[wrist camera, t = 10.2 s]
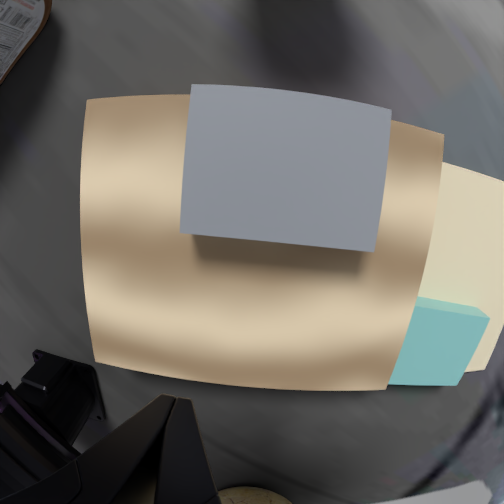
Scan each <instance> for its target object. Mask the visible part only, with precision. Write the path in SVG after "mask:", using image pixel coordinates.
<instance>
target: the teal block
mask: <svg viewBox="0 0 504 504" xmlns="http://www.w3.org/2000/svg"><path fill="white" fill-rule="evenodd" d="M489 321H490V317H488V316H487V315H486V314H485V313H483V312H482V311H481V310H480V309H478V308H477V307H473V306H468V305H462V304H457V303H451V302H446V301H440V300H435V299H430V298H424V297H419V296H417V299H416V303H415V307H414V310H413V313H412V317H411V320H410V323H409V326H408V330H407V333H406V336H405V339H404V342H403V345H402V348H401V350H400V353H399V356H398V359H397V362H396V364H395V367H394V370H393V372H392V375H391V377H390V380H389V383H388V384H395V385H438V386H440V385H457V384H458V382H459V380H460V379H461V377H462V375H463V373H464V371H465V370H466V368H467V366H468V364H469V362H470V360H471V358H472V356H473V354H474V352H475V351H476V348H477V346H478V344H479V342H480V340H481V338H482V336H483V334H484V332H485V330H486V327H487V325H488V323H489Z"/></svg>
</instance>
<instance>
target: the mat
mask: <svg viewBox="0 0 504 504" xmlns="http://www.w3.org/2000/svg"><path fill="white" fill-rule="evenodd" d="M418 296H419V297H424V298H430V299H435V300H440V301H446V302H451V303H457V304H462V305H468V306H473V307H477V308H478V309H480V310H481V311H482V312H483V313H485V314H486V315H487V316H488V317H490V321H489V323H488V325H487V327H486V330H485V332H484V334H483V336H482V338H481V340H480V342H479V344H478V346H477V348H476V351H475V352H474V354H473V356H472V358H471V360H470V362H469V364H468V366H467V368H466V370H465V371H464V372H470V371H478V370H484V369H485V367H486V365H487V363H488V361H489V359H490V356H491V354H492V352H493V349H494V347H495V345H496V342H497V340H498V337H499V335H500V332H501V330H502V327H503V324H504V181H501V180H498V179H495V178H492V177H489V176H486V175H483V174H480V173H477V172H474V171H471V170H468V169H464V168H461V167H458V166H454V165H451V164H447V163H444V162H442V169H441V178H440V186H439V194H438V201H437V207H436V214H435V219H434V225H433V231H432V236H431V241H430V246H429V251H428V255H427V260H426V264H425V268H424V273H423V277H422V281H421V285H420V288H419V292H418Z"/></svg>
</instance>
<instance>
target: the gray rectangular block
mask: <svg viewBox="0 0 504 504" xmlns="http://www.w3.org/2000/svg"><path fill="white" fill-rule="evenodd" d="M391 111H392V110H390V109H386V108H382V107H378V106H374V105H369V104H365V103H360V102H355V101H350V100H345V99H340V98H335V97H329V96H323V95H317V94H310V93H303V92H296V91H288V90H279V89H270V88H259V87H246V86H230V85H202V84H192V86H191V94H190V103H189V112H188V121H187V131H186V142H185V153H184V166H183V179H182V195H181V212H180V233H184V234H195V235H206V236H216V237H227V238H237V239H248V240H258V241H268V242H278V243H288V244H298V245H308V246H318V247H327V248H337V249H346V250H356V251H365V252H374V250H375V244H376V239H377V233H378V227H379V221H380V215H381V208H382V201H383V194H384V187H385V179H386V170H387V161H388V151H389V140H390V127H391Z"/></svg>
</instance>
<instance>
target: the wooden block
mask: <svg viewBox="0 0 504 504" xmlns="http://www.w3.org/2000/svg"><path fill="white" fill-rule="evenodd" d="M189 103H190V95H142V96H124V97H111V98H100V99H90V100H87V105H86V113H85V122H84V132H83V144H82V159H81V183H80V226H81V250H82V265H83V277H84V288H85V297H86V306H87V313H88V321H89V327H90V334H91V340H92V346H93V351H94V357H95V361H96V362H100V363H104V364H108V365H112V366H117V367H121V368H126V369H131V370H135V371H140V372H145V373H151V374H156V375H162V376H168V377H174V378H180V379H186V380H193V381H200V382H208V383H216V384H225V385H234V386H244V387H256V388H270V389H287V390H314V391H358V390H385V389H386V387H387V385H388V383H389V380H390V377H391V375H392V372H393V370H394V367H395V364H396V362H397V359H398V356H399V353H400V350H401V348H402V345H403V342H404V339H405V336H406V333H407V330H408V326H409V323H410V320H411V317H412V313H413V310H414V307H415V303H416V299H417V296H418V292H419V288H420V285H421V281H422V277H423V273H424V268H425V264H426V260H427V255H428V251H429V246H430V241H431V236H432V231H433V225H434V219H435V214H436V207H437V201H438V194H439V186H440V178H441V169H442V159H443V147H444V135H443V134H440V133H437V132H434V131H430V130H427V129H423V128H420V127H416V126H413V125H409V124H405V123H401V122H398V121H394V120H391V127H390V140H389V151H388V161H387V170H386V179H385V187H384V194H383V201H382V208H381V215H380V221H379V227H378V233H377V239H376V244H375V250H374V252H365V251H356V250H346V249H337V248H327V247H318V246H308V245H298V244H288V243H278V242H268V241H258V240H248V239H237V238H227V237H216V236H206V235H195V234H184V233H180V212H181V195H182V179H183V166H184V153H185V142H186V131H187V121H188V112H189Z"/></svg>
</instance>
